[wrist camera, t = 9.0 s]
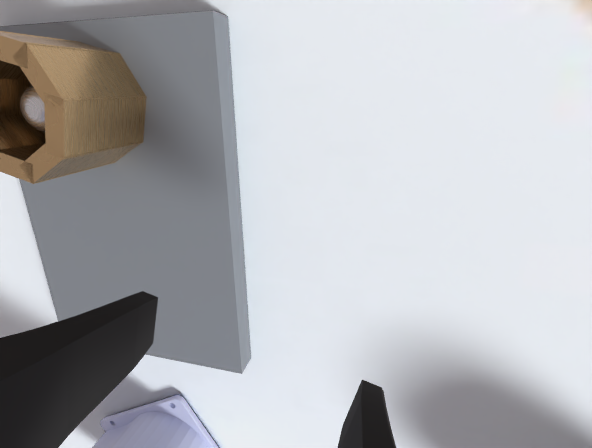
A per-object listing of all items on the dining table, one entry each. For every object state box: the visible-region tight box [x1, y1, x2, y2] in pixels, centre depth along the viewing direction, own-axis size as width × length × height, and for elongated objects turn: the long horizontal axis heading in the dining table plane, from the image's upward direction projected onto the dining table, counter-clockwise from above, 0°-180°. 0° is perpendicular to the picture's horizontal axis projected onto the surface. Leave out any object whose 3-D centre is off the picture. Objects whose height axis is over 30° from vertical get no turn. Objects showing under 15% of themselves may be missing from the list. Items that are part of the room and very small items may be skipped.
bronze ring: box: [0, 31, 147, 184], centre depth 17 cm, size 6×6×5 cm
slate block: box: [0, 10, 251, 374], centre depth 22 cm, size 20×14×2 cm
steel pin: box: [20, 86, 45, 132], centre depth 18 cm, size 2×2×4 cm
